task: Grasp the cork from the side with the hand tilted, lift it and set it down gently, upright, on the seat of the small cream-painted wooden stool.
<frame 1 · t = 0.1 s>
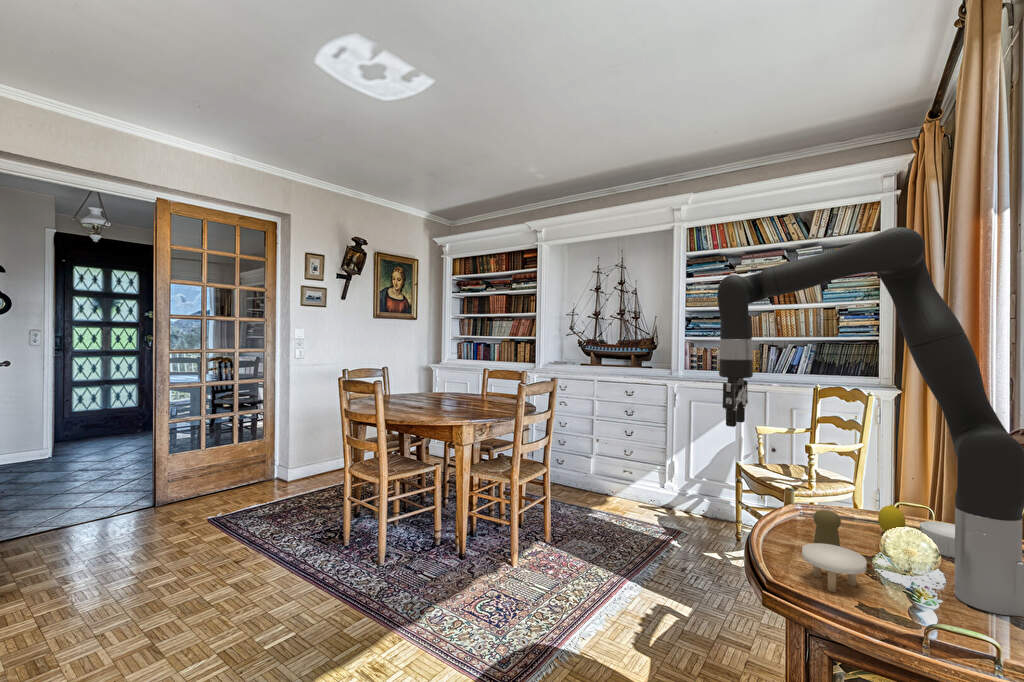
hand: (735, 424, 121), 29 cm above the table, tool pointing down, fingers open, 8 cm apart
ramekin: (950, 552, 118), on the table
cork: (826, 561, 112), on the table
stool: (833, 583, 101), on the table
lemon: (891, 536, 126), on the table
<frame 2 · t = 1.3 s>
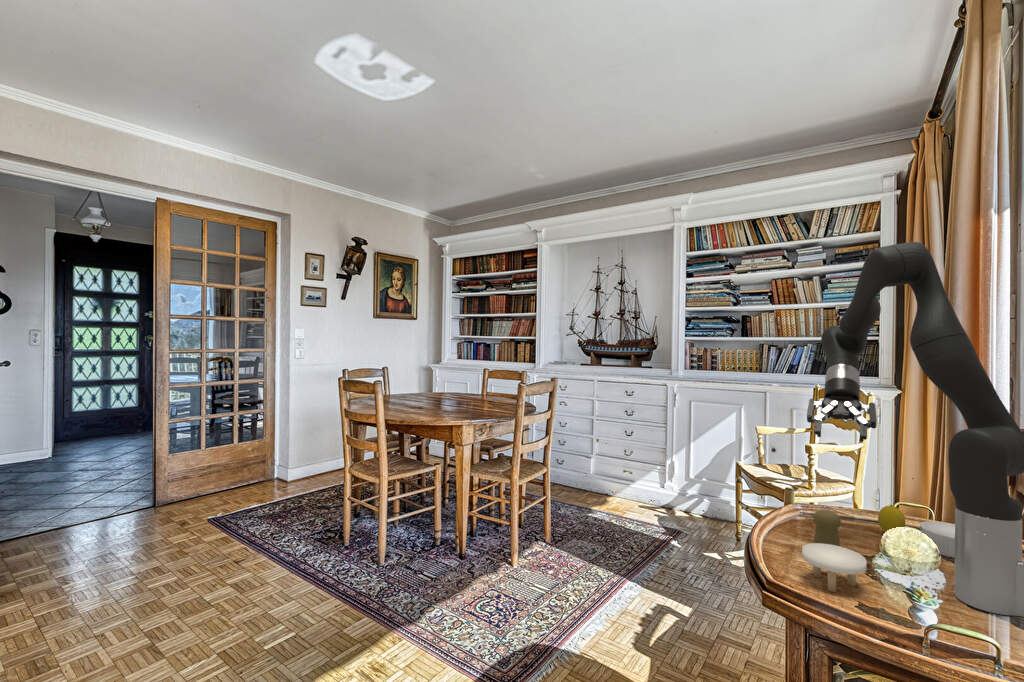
hand: (839, 437, 118), 27 cm above the table, tool tilted 45°, fingers open, 8 cm apart
nothing on the table moved.
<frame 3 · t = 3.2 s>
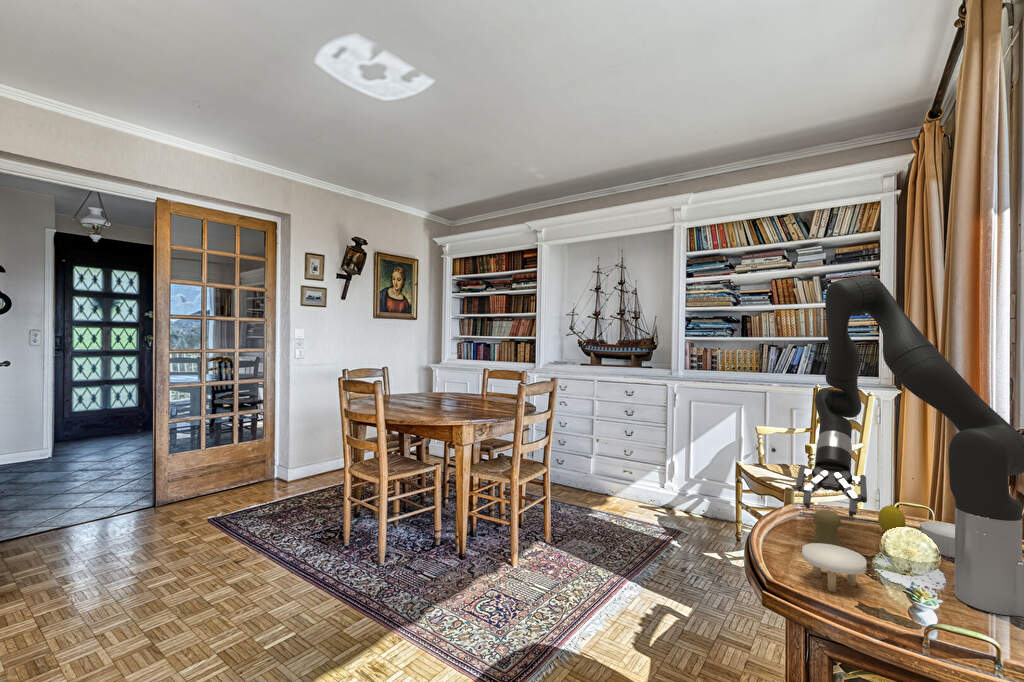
hand: (828, 511, 116), 10 cm above the table, tool tilted 45°, fingers open, 8 cm apart
nothing on the table moved.
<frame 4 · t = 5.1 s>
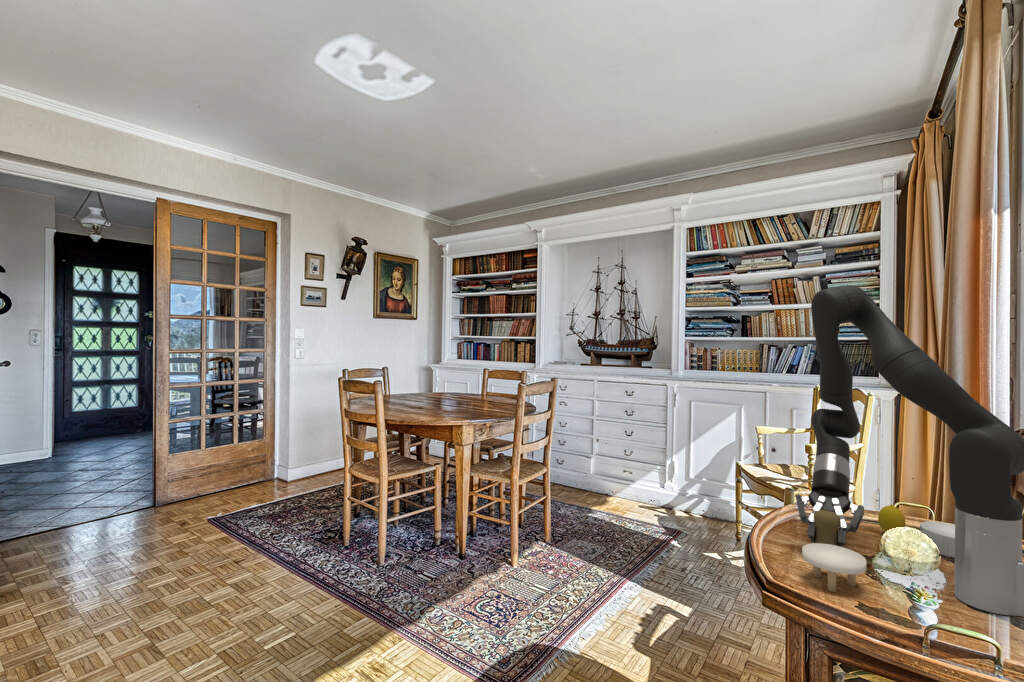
hand: (826, 542, 111), 5 cm above the table, tool tilted 45°, fingers closed on cork, 4 cm apart
cork: (826, 561, 112), on the table, touching gripper
everything else where it was.
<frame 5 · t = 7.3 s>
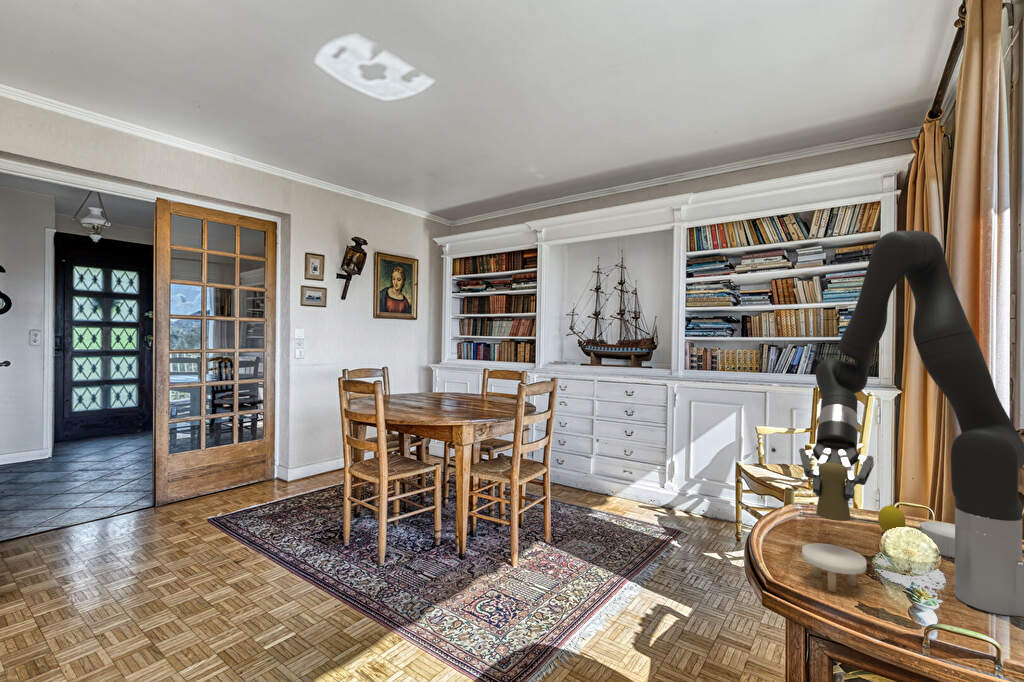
hand: (832, 496, 102), 18 cm above the table, tool tilted 45°, fingers closed on cork, 4 cm apart
cork: (833, 516, 103), point 13 cm above the table, touching gripper
everything else where it was.
when the fingers open (12 cm above the table, at t = 9.8 s): cork drops 1 cm, resting on stool.
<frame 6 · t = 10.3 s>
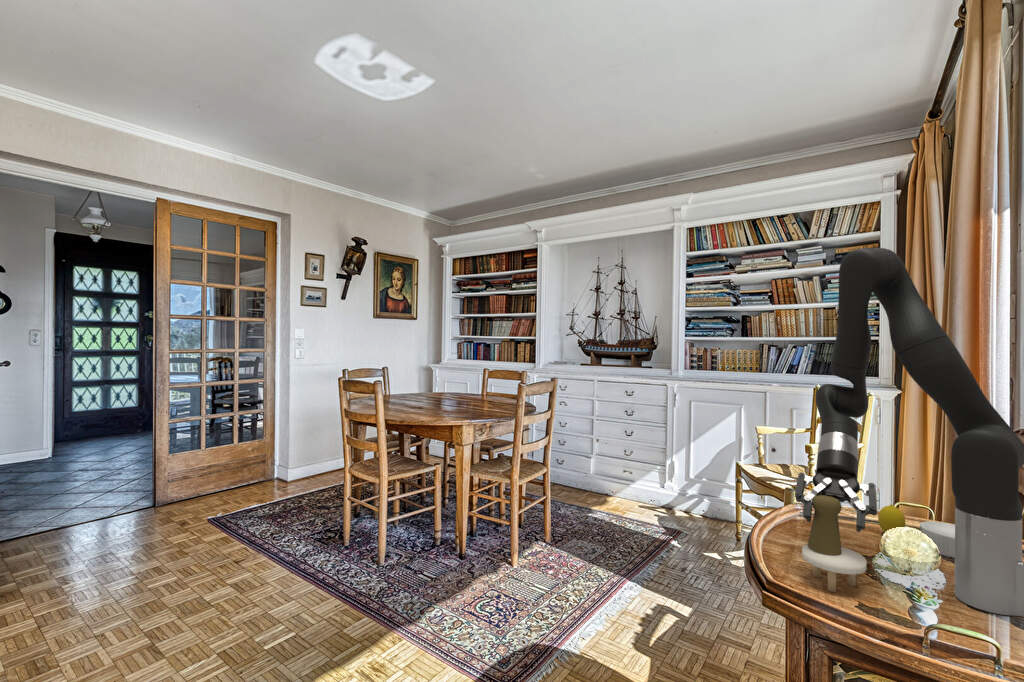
hand: (832, 525, 100), 12 cm above the table, tool tilted 45°, fingers open, 8 cm apart
cork: (824, 550, 103), point 6 cm above the table, touching gripper, stool
everything else where it was.
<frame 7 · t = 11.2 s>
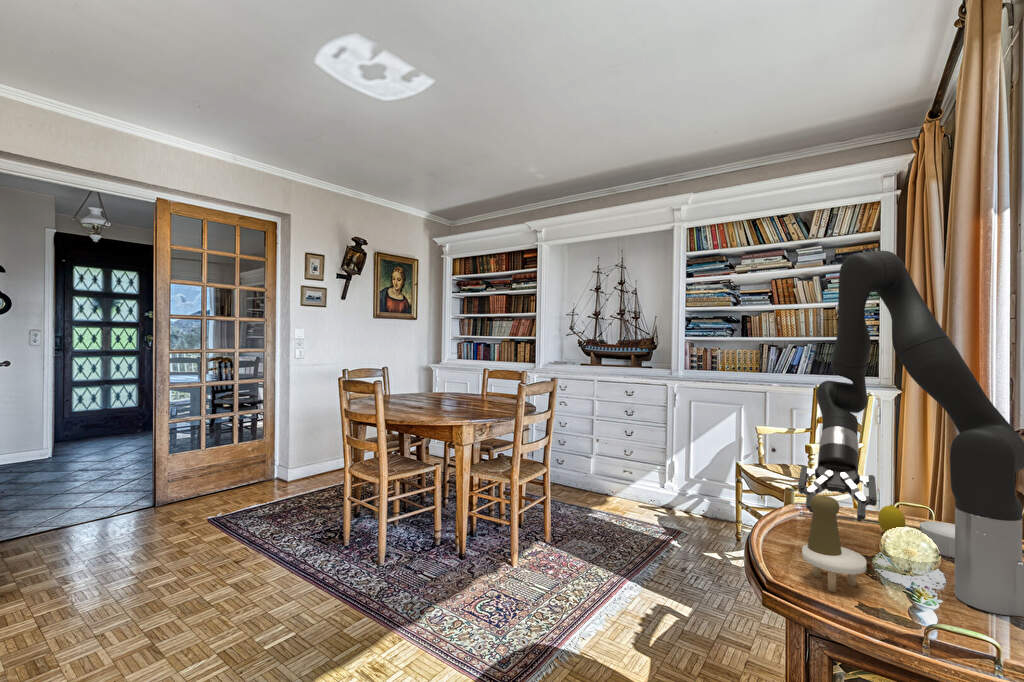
hand: (834, 515, 105), 13 cm above the table, tool tilted 45°, fingers open, 8 cm apart
cork: (824, 550, 103), point 6 cm above the table, touching stool
everything else where it was.
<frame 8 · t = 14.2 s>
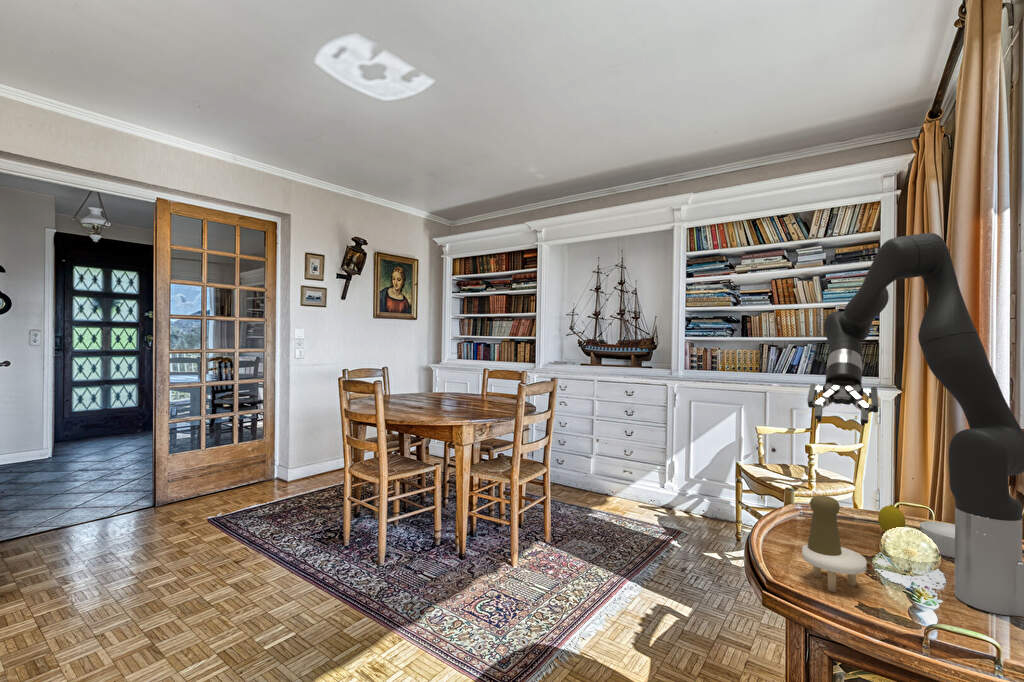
hand: (840, 421, 117), 31 cm above the table, tool tilted 45°, fingers open, 8 cm apart
nothing on the table moved.
at the end: cork inside the target area on the stool (2.3 cm from its centre), point 5.8 cm above the stool's base; cork tilted 0°; the gripper is holding nothing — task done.
